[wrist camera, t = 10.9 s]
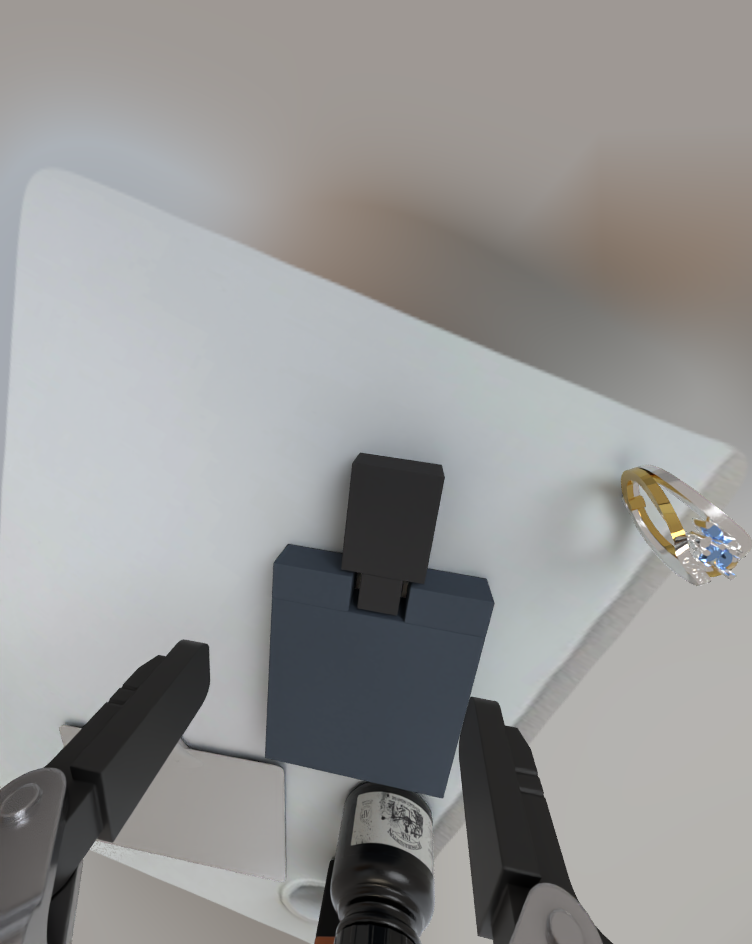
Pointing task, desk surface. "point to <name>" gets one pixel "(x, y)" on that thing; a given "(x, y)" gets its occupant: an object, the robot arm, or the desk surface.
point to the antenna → (210, 812)
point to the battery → (327, 914)
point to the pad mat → (371, 672)
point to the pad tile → (390, 526)
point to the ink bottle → (383, 867)
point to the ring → (712, 543)
